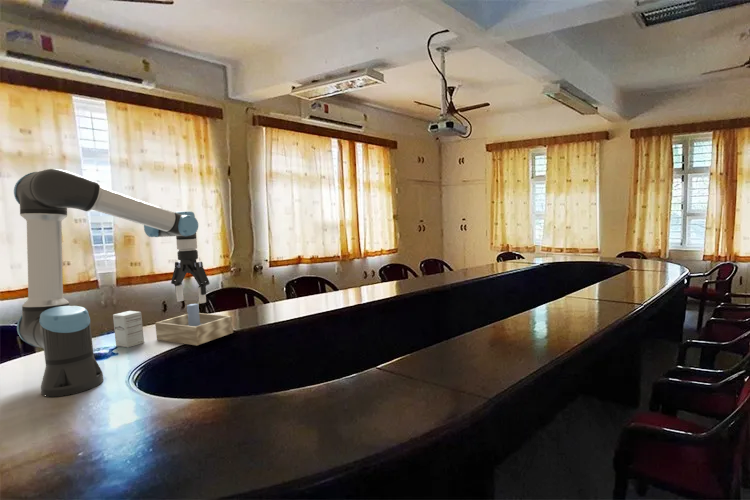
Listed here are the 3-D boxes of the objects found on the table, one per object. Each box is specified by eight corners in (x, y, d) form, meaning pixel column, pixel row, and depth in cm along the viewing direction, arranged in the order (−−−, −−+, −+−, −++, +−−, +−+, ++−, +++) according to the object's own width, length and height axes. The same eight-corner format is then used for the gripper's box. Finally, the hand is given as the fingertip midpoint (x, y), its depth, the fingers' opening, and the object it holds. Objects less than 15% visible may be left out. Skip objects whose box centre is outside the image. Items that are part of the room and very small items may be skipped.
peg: (194, 338, 175) (191, 306, 174) (187, 337, 177) (184, 305, 176) (203, 335, 179) (200, 304, 177) (196, 334, 181) (193, 303, 180)
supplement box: (115, 346, 170) (111, 314, 169) (133, 340, 176) (130, 310, 175) (127, 348, 166) (123, 315, 165) (145, 342, 173) (141, 311, 172)
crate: (196, 345, 164) (195, 327, 164) (156, 339, 176) (155, 322, 175) (233, 332, 180) (231, 316, 179) (194, 328, 191) (192, 312, 191)
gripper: (216, 248, 172) (220, 301, 173) (175, 249, 184) (179, 298, 185) (200, 250, 165) (204, 305, 167) (159, 250, 177) (163, 302, 179)
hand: (191, 302), depth 176 cm, fingers open, 13 cm apart
